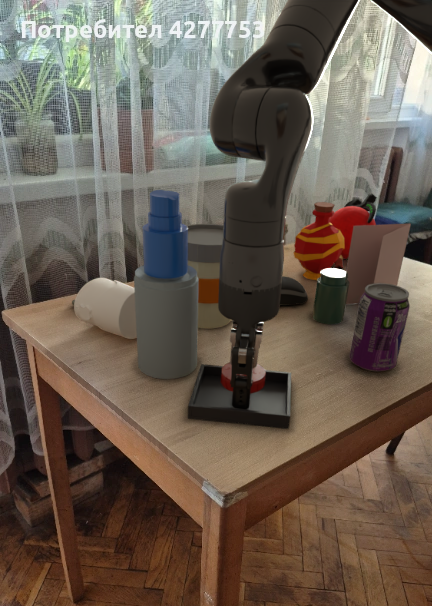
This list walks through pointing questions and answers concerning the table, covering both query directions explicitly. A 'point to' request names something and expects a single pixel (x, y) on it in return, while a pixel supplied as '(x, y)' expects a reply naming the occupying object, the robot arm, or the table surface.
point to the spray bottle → (166, 293)
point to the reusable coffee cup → (207, 271)
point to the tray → (218, 407)
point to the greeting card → (375, 257)
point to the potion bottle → (319, 242)
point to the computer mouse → (292, 292)
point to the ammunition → (339, 263)
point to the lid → (257, 375)
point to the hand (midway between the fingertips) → (242, 393)
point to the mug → (108, 306)
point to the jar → (331, 296)
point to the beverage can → (379, 327)
